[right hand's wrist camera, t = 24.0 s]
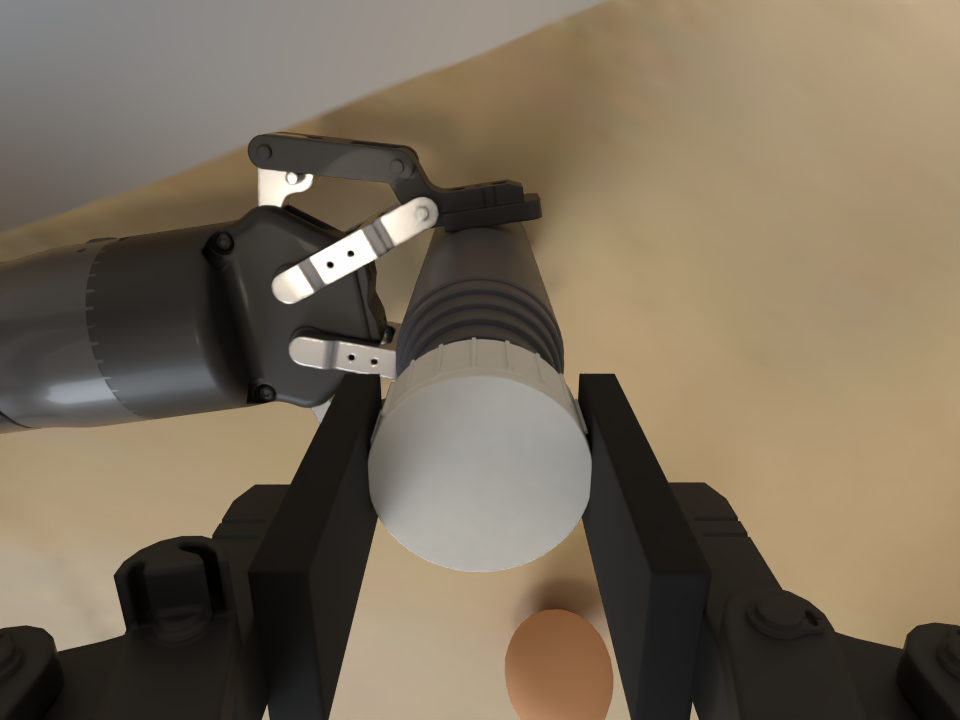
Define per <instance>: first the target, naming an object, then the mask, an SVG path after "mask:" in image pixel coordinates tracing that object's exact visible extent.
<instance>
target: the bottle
mask: <svg viewBox="0 0 960 720" xmlns="http://www.w3.org/2000/svg"><path fill="white" fill-rule="evenodd" d="M475 337H476V339H486V340H497V341H501V342H505V341H506V340H507V341H509V342H510V344H513V345H516V346H519V347H522V348H524V349H526V350H528V351H530V352H532V353H534V354H536V353H538V354H540V358H542V359H543V360H545V361H546V362H547V363H548V364H549V365H550V366H552V367H553V368H554V369H555V370H556V371H557V373H558V374H560V373H562V374H564V348H563V340H562V336H561V332H560V329H559V326H558V323H557V321H556V318H555V315H554V312H553V309H552V306H551V303H550V301H549V298H548V295H547V292H546V289H545V286H544V283H543V281H542V278H541V275H540V272H539V269H538V266H537V263H536V261H535V258H534V255H533V252H532V249H531V246H530V243H529V241H528V238H527V235H526V232H525V230H524V227H523V226H522V224H521V222H514V223H508V224H501V225H494V226H487V227H480V228H470V229H465V230H460V231H453V232H446V233H445V228H444V226H442V227H436V229H435V231H434V234H433V237H432V240H431V242H430V245H429V248H428V251H427V254H426V257H425V260H424V263H423V265H422V268H421V271H420V274H419V277H418V280H417V283H416V285H415V288H414V291H413V294H412V297H411V300H410V303H409V305H408V308H407V311H406V314H405V317H404V320H403V323H402V326H401V328H400V331H399V335H398V339H397V345H396V375H397V379H398V377H399V376H400V375H401V374H402V373H403V372H404V371H405V369H406V368H407V367H408V366H409V365H410V362H411V361H412V360H413V359H414V360H415V361H416V360H417V359H418V358H420V357H421V356H423V355H425V354H426V353H428V352H430V351H432V350H434V349H436V348H439V345H440V344H443V346H444V345H447V344H450V343H454V342H458V341H464V340H472V338H475Z"/></svg>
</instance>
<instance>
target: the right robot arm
mask: <svg viewBox="0 0 960 720" xmlns="http://www.w3.org/2000/svg"><path fill="white" fill-rule="evenodd" d="M578 403H579V406H580V409H581V412H582V415H583V418H584V421H585V424H586V427H587V430H588V434H585V435H586V438H587V441H588V444H589V448H590V451H591V454H592V469H591V484H590V497H589V501H588V504H587V507H586V509H585V511H584V513H583V515H582V521H583V525H584V529H585V533H586V537H587V541H588V545H589V549H590V553H591V557H592V561H593V566H594V570H595V574H596V578H597V582H598V586H599V590H600V594H601V598H602V602H603V607H604V611H605V615H606V619H607V623H608V627H609V631H610V635H611V639H612V643H613V648H614V652H615V656H616V660H617V664H618V668H619V672H620V676H621V680H622V684H623V688H624V693H625V697H626V701H627V705H628V709H629V713H630V717H631V720H690V714H691V708H692V701H693V704H694V707H695V710H696V712H697V715H698V718H699V720H960V626H958V625H950V624H942V623H930V624H924V625H919V626H916V627H915V628H914V629H913V630H912V631H911V632H910V633H908V634H907V637H906V640H905V644H904V647H903V649H900V648H896V647H891V646H887V645H882V644H878V643H874V642H869V641H865V640H861V639H856V638H853V637H850V636H846V635H843V634H840V633H837V632H835V631H834V628H833V627H832V625H831V624H830V622H829V621H828V619H827V617H826V616H825V614H824V613H822V612H821V611H820V610H819V609H818V608H816V607H815V606H814V605H813V604H812V603H810V602H809V601H807V600H805V599H803V598H801V597H799V596H797V595H795V594H793V593H791V592H789V591H785V590H782V588H781V586H780V585H779V583H778V582H777V580H776V578H775V577H774V575H773V573H772V572H771V570H770V569H769V567H768V565H767V564H766V562H765V561H764V559H763V557H762V556H761V554H760V552H759V551H758V549H757V548H756V546H755V544H754V543H753V541H752V540H751V538H750V537H748V535H747V531H746V530H745V528H744V527H743V525H742V523H741V522H740V521H738V517H737V515H736V514H735V512H734V510H733V509H732V507H731V506H730V504H729V502H728V501H727V499H726V498H725V497H723V496H722V495H721V494H719V493H718V492H717V491H715V490H714V489H713V488H711V487H710V486H708V485H707V484H706V483H668V481H667V479H666V477H665V475H664V473H663V471H662V469H661V467H660V465H659V463H658V461H657V459H656V457H655V455H654V453H653V451H652V449H651V447H650V445H649V443H648V441H647V439H646V437H645V435H644V433H643V431H642V429H641V427H640V425H639V423H638V420H637V418H636V416H635V414H634V412H633V410H632V408H631V406H630V404H629V402H628V400H627V398H626V396H625V394H624V392H623V390H622V388H621V386H620V384H619V382H618V380H617V378H616V376H615V374H580V375H579V392H578ZM380 410H382V400H381V383H380V374H345V375H344V377H343V379H342V381H341V383H340V385H339V387H338V389H337V391H336V393H335V395H334V397H333V399H332V401H331V403H330V405H329V407H328V409H327V411H326V413H325V415H324V418H323V420H322V422H321V424H320V426H319V428H318V430H317V432H316V434H315V436H314V438H313V440H312V442H311V444H310V446H309V448H308V450H307V452H306V454H305V456H304V458H303V460H302V462H301V464H300V466H299V468H298V470H297V472H296V474H295V476H294V478H293V480H292V482H291V484H290V485H254V486H253V487H251V488H250V489H249V490H247V491H246V492H245V493H243V494H242V495H241V496H239V497H238V498H237V499H235V500H234V501H233V503H232V504H231V506H230V508H229V509H228V511H227V512H226V514H225V516H224V517H223V519H222V523H220V524H219V525H218V527H217V529H216V530H215V532H214V534H213V535H212V539H211V538H207V537H204V536H181V537H176V538H172V539H167V540H163V541H159V542H157V543H155V544H153V545H150V546H148V547H146V548H143V549H141V550H139V551H138V552H137V553H135V554H134V555H133V556H131V557H130V558H128V559H127V560H126V561H124V562H123V563H122V565H121V566H120V568H119V569H118V570H117V572H116V573H115V574H114V580H115V584H116V588H117V592H118V596H119V600H120V605H121V609H122V613H123V617H124V621H125V625H126V632H125V635H122V636H119V637H116V638H113V639H109V640H106V641H102V642H98V643H94V644H89V645H85V646H81V647H76V648H72V649H68V650H63V651H59V652H57V649H56V646H55V642H54V639H53V637H52V636H51V635H50V634H49V633H48V632H46V631H45V630H44V629H42V628H37V627H32V626H17V627H9V628H2V629H0V720H262V717H263V714H264V712H265V709H266V706H267V704H268V711H269V717H270V720H328V719H329V715H330V711H331V707H332V703H333V699H334V695H335V691H336V687H337V683H338V678H339V674H340V670H341V666H342V662H343V658H344V654H345V650H346V646H347V642H348V638H349V633H350V629H351V625H352V621H353V617H354V613H355V609H356V605H357V601H358V597H359V592H360V588H361V584H362V580H363V576H364V572H365V568H366V564H367V560H368V556H369V552H370V547H371V543H372V539H373V535H374V531H375V527H376V523H377V519H378V515H377V513H376V511H375V509H374V506H373V504H372V502H371V498H370V490H369V476H368V456H369V451H370V447H371V444H370V441H371V438H372V435H373V431H374V428H375V425H376V422H377V419H378V416H379V413H380Z"/></svg>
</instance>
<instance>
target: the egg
mask: <svg viewBox="0 0 960 720" xmlns="http://www.w3.org/2000/svg"><path fill="white" fill-rule="evenodd" d="M505 678H506V687H507V690H508V694H509V698H510V701H511V703H512V705H513V707H514V709H515V711H516V713H517V715H518V716H519V718H520V719H521V720H605V718H606V715H607V712H608V709H609V706H610V702H611V699H612V693H613V671H612V665H611V659H610V656H609V653H608V650H607V648H606V646H605V643H604V641H603V639H602V638H601V636H600V634H599V633H598V632H597V631H596V630H595V628H594V627H593V626H592V625H591V624H590V623H588V622H587V621H586V620H584V619H583V618H581V617H580V616H578V615H577V614H575V613H572V612H570V611H567V610H560V609H552V610H543V611H541V612H539V613H536V614H534V615H532V616H530V617H529V618H528V619H527V620H525V621H524V622H523V623H522V624H521V625H520V626H519V627H518V629H517V630H516V631H515V633H514V635H513V637H512V639H511V641H510V644H509V646H508V649H507V654H506V658H505Z"/></svg>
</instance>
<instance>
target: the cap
mask: <svg viewBox="0 0 960 720" xmlns="http://www.w3.org/2000/svg"><path fill="white" fill-rule="evenodd" d="M585 434H588V430H587V427H586V424H585V421H584V418H583V415H582V412H581V409H580V406H579V403H578V400H577V399H575V400H574V398H573V396H572V393H571V391H570V389H569V388H568V386H567V384H566V382H565V379H564V376H563V374H562V373H560V374H558V373H557V371H556V370H555V369H554V368H553V367H552V366H550V365H549V364H548V363H547V362H546V361H545V360H543V359H542V358H540V354H538V353H536V354H534V353H532V352H530V351H528V350H526V349H524V348H522V347H519V346H516V345H513V344H510V342H509V341H507V340H506V341H505V342H501V341H497V340H486V339H476V337H475V338H472V340H464V341H458V342H454V343H450V344H447V345H444V346H443V344H440V345H439V348H436V349H434V350H432V351H430V352H428V353H426V354H425V355H423V356H421V357H420V358H418V359H417V360H416V361H415V360H414V359H413V360H412V361H411V362H410V365H409V366H408V367H407V368H406V369H405V371H404V372H403V373H402V374H401V375H400V376H399V377H398V379H397V380H396V381H395V383H393V382H392V383H391V384H390V387H389V390H388V393H387V396H386V399H385V403H384V406H383V409H382V410H380V413H379V416H378V419H377V422H376V425H375V428H374V431H373V435H372V438H371V441H370V444H371V447H370V451H369V456H368V476H369V490H370V498H371V502H372V504H373V506H374V509H375V511H376V513H377V515H378V517H379V518H380V520H381V522H382V523H383V525H384V526H385V527H386V529H387V530H388V531H389V532H390V534H391V535H392V536H393V537H394V538H395V539H396V540H397V541H398V542H399V543H401V544H402V545H403V546H404V547H406V548H407V549H408V550H410V551H411V552H412V553H414V554H416V555H418V556H419V557H421V558H423V559H425V560H427V561H430V562H432V563H434V564H437V565H440V566H443V567H447V568H450V569H455V570H461V571H470V572H492V571H499V570H506V569H509V568H513V567H517V566H520V565H523V564H526V563H528V562H531V561H533V560H535V559H537V558H539V557H541V556H543V555H544V554H546V553H547V552H549V551H550V550H552V549H553V548H555V547H556V546H557V545H558V544H559V543H561V542H562V541H563V540H564V539H565V538H566V537H567V536H568V535H569V534H570V532H571V531H572V530H573V529H574V528H575V526H576V525H577V523H578V522H579V520H580V519H581V517H582V515H583V513H584V511H585V509H586V507H587V504H588V501H589V497H590V484H591V469H592V454H591V451H590V448H589V444H588V441H587V438H586V435H585Z"/></svg>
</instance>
